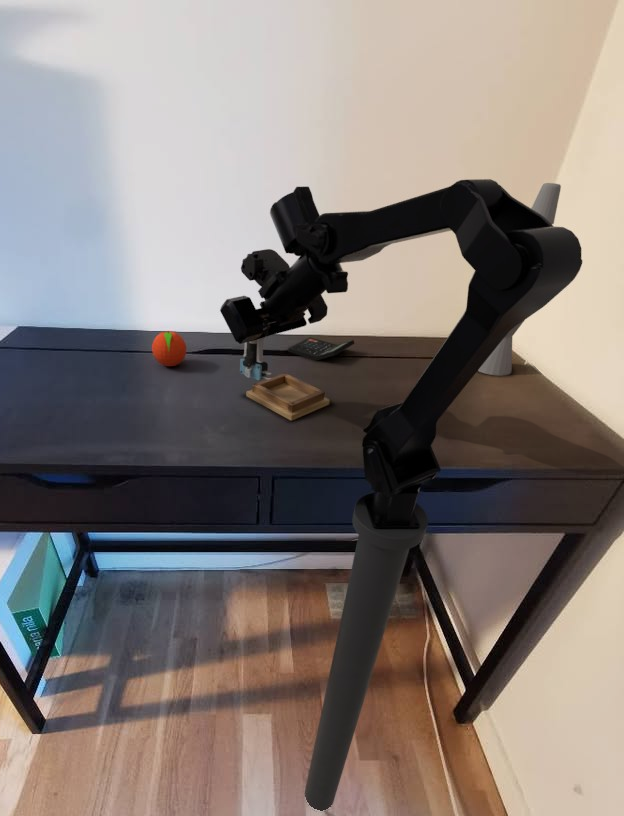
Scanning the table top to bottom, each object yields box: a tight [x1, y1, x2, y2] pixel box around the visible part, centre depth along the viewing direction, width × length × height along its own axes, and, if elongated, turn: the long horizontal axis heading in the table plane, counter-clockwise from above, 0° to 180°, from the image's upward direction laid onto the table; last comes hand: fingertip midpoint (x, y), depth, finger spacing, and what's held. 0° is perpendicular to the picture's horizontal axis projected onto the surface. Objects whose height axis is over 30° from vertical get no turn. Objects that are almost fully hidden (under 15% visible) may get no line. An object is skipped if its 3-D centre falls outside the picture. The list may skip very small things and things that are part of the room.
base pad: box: [246, 372, 331, 421], centre depth 90 cm, size 12×10×2 cm
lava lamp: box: [477, 182, 562, 377], centre depth 98 cm, size 9×9×35 cm
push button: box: [239, 324, 272, 381], centre depth 83 cm, size 7×5×10 cm
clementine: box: [151, 330, 187, 367], centre depth 100 cm, size 8×7×7 cm
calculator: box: [287, 337, 355, 361], centre depth 110 cm, size 9×12×3 cm
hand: (251, 337), depth 83 cm, fingers closed on push button, 5 cm apart
